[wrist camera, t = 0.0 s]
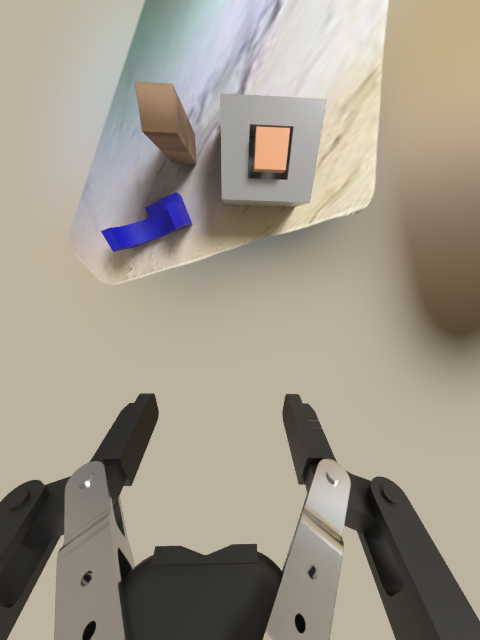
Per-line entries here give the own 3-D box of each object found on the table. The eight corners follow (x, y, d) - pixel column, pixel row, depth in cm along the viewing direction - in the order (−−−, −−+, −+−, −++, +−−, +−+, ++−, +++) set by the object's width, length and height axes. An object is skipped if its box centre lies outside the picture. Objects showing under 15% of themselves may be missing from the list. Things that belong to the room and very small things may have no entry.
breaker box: (223, 123, 28) (220, 93, 21) (306, 127, 28) (326, 99, 22) (224, 204, 32) (221, 199, 26) (295, 206, 32) (309, 202, 26)
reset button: (253, 138, 24) (256, 126, 21) (283, 139, 25) (290, 128, 22) (252, 175, 26) (254, 168, 23) (279, 176, 26) (285, 169, 23)
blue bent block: (181, 195, 31) (169, 189, 26) (192, 224, 33) (184, 224, 28) (117, 221, 33) (94, 220, 28) (132, 247, 35) (113, 251, 29)
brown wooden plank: (170, 132, 28) (134, 81, 18) (194, 133, 28) (172, 83, 18) (173, 162, 29) (142, 131, 20) (196, 163, 30) (176, 132, 20)
